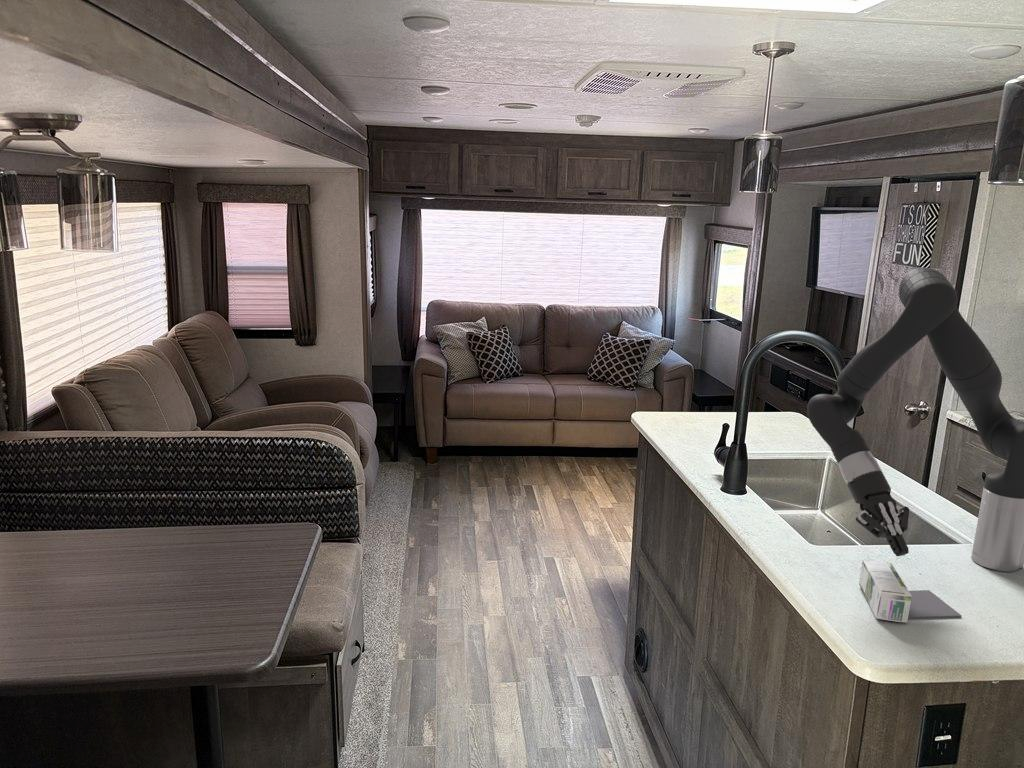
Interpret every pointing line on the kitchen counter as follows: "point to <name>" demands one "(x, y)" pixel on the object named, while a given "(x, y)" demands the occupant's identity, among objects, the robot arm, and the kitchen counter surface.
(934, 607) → the mat
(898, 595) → the syrup box
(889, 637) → the kitchen counter surface
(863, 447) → the robot arm
